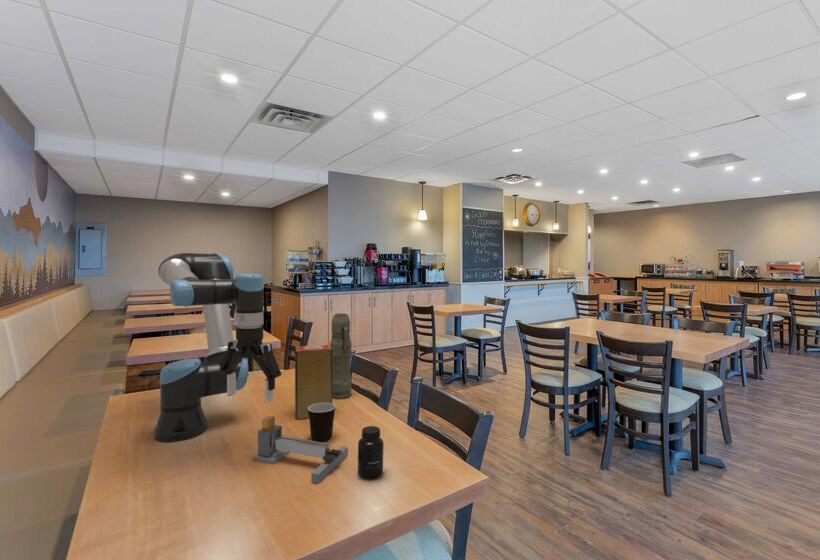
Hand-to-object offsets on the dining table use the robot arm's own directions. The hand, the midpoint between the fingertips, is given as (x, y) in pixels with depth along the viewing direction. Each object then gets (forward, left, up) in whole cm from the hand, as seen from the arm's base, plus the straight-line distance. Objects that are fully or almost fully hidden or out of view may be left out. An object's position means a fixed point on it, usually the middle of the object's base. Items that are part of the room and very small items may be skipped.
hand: (249, 397), depth 116 cm
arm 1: (+20, -2, -13) cm, 24 cm away
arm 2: (+20, +1, -13) cm, 24 cm away
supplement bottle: (+39, +1, -16) cm, 42 cm away
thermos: (+1, +54, -16) cm, 56 cm away
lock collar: (+7, 0, -15) cm, 17 cm away
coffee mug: (+15, +17, -16) cm, 28 cm away
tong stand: (+16, 0, -16) cm, 23 cm away
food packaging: (+1, +33, -16) cm, 37 cm away
